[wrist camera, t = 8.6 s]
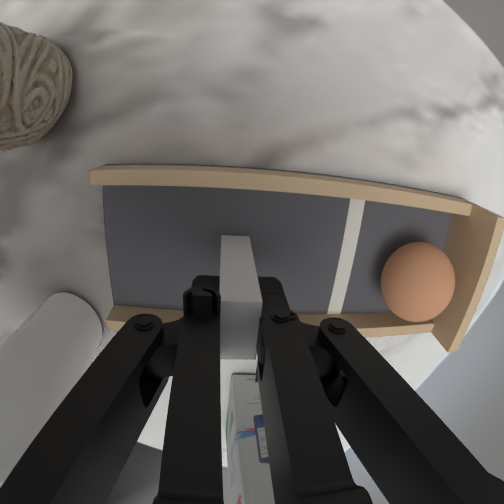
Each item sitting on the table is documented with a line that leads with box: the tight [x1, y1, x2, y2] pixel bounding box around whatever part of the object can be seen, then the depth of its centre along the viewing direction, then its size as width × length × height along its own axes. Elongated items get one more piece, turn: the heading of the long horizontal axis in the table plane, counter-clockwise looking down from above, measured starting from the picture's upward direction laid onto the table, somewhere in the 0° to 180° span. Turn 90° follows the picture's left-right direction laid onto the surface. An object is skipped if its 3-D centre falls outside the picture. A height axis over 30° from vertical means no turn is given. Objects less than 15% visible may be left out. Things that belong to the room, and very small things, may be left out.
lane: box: [89, 164, 504, 352], centre depth 17 cm, size 24×10×5 cm, turn 85°
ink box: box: [226, 375, 275, 504], centre depth 19 cm, size 9×5×12 cm, turn 173°
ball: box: [381, 242, 455, 322], centre depth 17 cm, size 5×5×5 cm
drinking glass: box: [0, 292, 102, 488], centre depth 13 cm, size 7×7×15 cm
